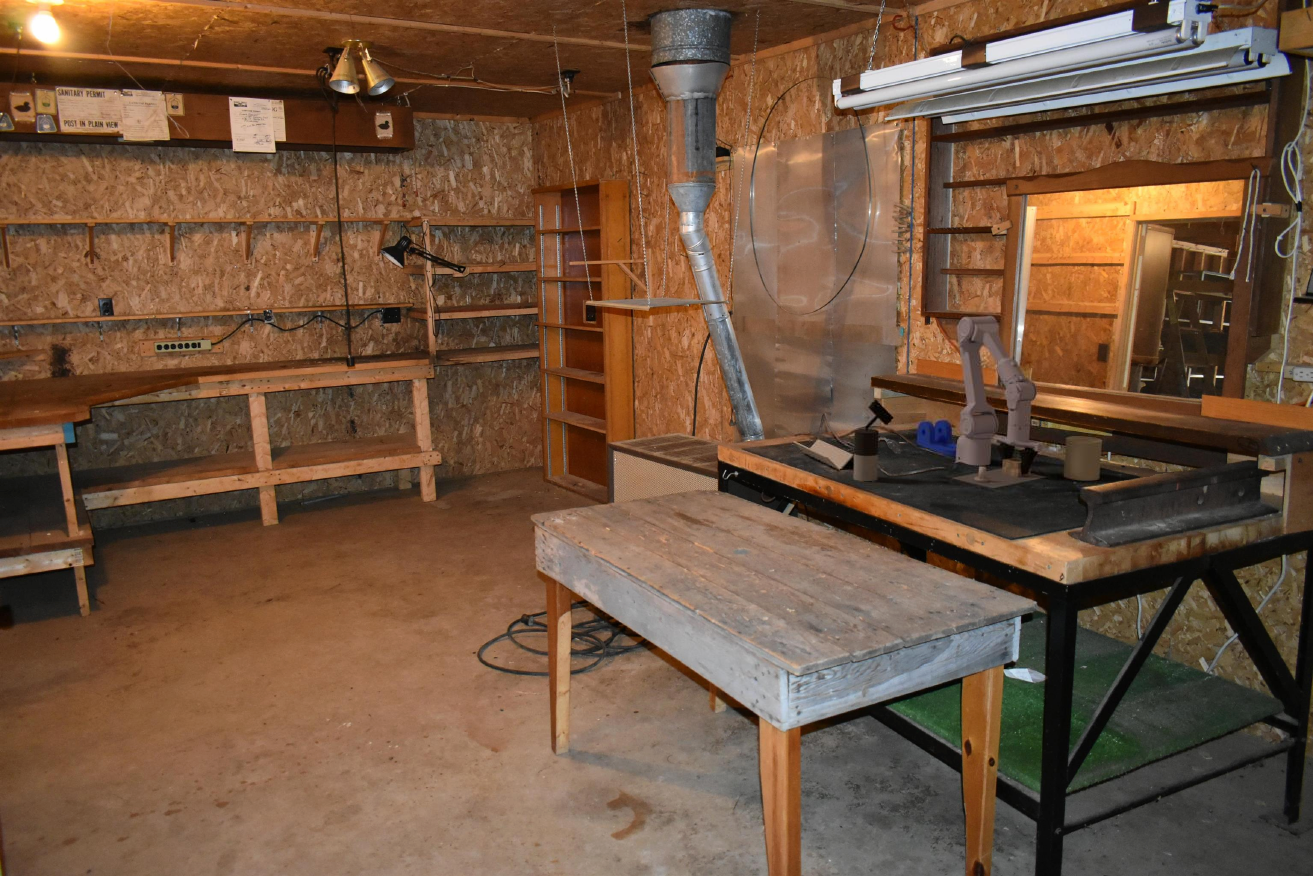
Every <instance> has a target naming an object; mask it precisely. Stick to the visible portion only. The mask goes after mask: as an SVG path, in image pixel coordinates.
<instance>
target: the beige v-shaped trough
mask: <svg viewBox="0 0 1313 876" xmlns="http://www.w3.org/2000/svg"><path fill="white" fill-rule="evenodd" d="M792 442H793V444H795V445H796V446H797V447H798V448H799V449H800V450H801V452H803V453H804V454H805V455H808V456H809V457H811V458H813V457H814V458H813V459H815V460H817V461H819V460H820V461H819V462H821V463H824V464H825V463H826V465H827V464H828V465H827V466H829V465H830V466H829V467H831V466H832V468H833V467H834V468H833V469H835V468H836V469H835V470H837V469H838V471H841V470H842V469H843V468H844V467H845V466H846V465H847V464H848V462H850V461H852V462H853V463H852V462H851V463H852V464H854V454H853V453H851V452H848V451H846V450H844V449H842V448H839V447H836V446H835V445H832V444H830V443H827V442H826V441H823V440H821V439H817V440H816V441H815V442H814V443H813V444H812V446H810V447H807V446H805V445H803V444H801V443H799V442H797V441H795V440H793V441H792ZM840 469H841V470H840Z"/></svg>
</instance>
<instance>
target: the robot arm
mask: <svg viewBox="0 0 1313 876" xmlns="http://www.w3.org/2000/svg"><path fill="white" fill-rule="evenodd" d="M999 331H1000V325H999V324H998V321H997V319H996V317H994V316H993V315H986V316H964V317H962V318H961V319H960V320H959V322H958V323H957V325H956V333H957V341H958V346H959V353H960V354H959V355H960V362H961V367H962V374H963V383H964V389H965V397H966V398H965V399H966V403H967V405H965V407H964V408H963V409H962V410H961V411H960V413H959V414H960V422H959V428H960V431H961V433H962V434H961V435H960V436H959V437H958V439H957V441H956V442H957V443H956V444H957V449H956V456H955V462H953V463H963V464H966V465H969V466H970V465H971V466H978V467H984V466H989V465H991V453H992V438H993V443H994V444H999V445H997V446H996V450H997V451H998V453H999V456H1000V458H1001V462H1002V463H1003V460H1004V459H1010V458H1014V452H1015V449H1016V447H1017V448H1022V449H1019V451H1018V452H1019V455H1020V459H1021V474H1023V475H1025V474H1028V472H1029V469H1030V470H1031V467H1032V464H1033V462H1034V460H1035V458H1036V456H1037V455H1038V454H1039V452H1040V451H1043V445H1044V443H1041V442H1037V441H1033V440H1030V431H1031V430H1030V429H1031V414H1032V413H1031V412H1032V411H1031V410H1032V401H1034V400H1036V397H1037V393H1038V389H1037V386H1036V383H1035V382H1034V381H1033V380H1030V379H1029V378H1028V377H1026V376H1025V374H1024V373H1023V370H1022V369H1021V368H1020V366H1019V362H1018V361H1016V359H1014V358H1011V357H1009V355H1008V352H1007V350H1006V348H1005V345H1004V343H1003V342H1002V339H1001V337H1000V335H999ZM983 346H985V347H986V349H987V350H988V352H989V353H990V355H991V356H992V358H993V360H994V361H995V362H996V364H997V365H996V367H995V371H996V372H997V374H998V376H999V378H1000V380H1001V381H1002V383H1003V385H1004V387H1005V388H1006V389H1005V390H1004V397H1005V399H1006V406H1007V408H1008V415H1007V435H1006V436H1003V435H995V434H996V432H998V429H999V426H1000V425H999V423H1000V422H999V419H998V417H997V415H996V411H995V408H994V407H993V406H992V405H990V403H988V402H987V395H986V390H985V388H986V387H985V382H984V381H985V380H984V375H983V367H982V361H981V354H980V353H981V352H980V350H981V348H982V347H983ZM994 435H995V436H994Z"/></svg>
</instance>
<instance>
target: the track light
mask: <svg viewBox="0 0 1313 876" xmlns="http://www.w3.org/2000/svg"><path fill="white" fill-rule="evenodd" d="M867 408H868V409H869V410H870V412H872V413H873V414H874V415H875V416H874V417H873V418H872V419H871V420H870V421H869V422H868V423H867V424H866V426H865V428H858V429H855V430H854V439H853V440H854V442H853V444H854V446H853V447H854V448H853V453H854V454H853V455H854V463H853V480H854V481H857V480H858V482H863V481H872V482H876V481H878V473H879V472H878V470H879V469H878V466H879V464H878V463H879V438H880V437H879V434H880V433H879V430H878V429H873V428H871V426H873V425H874V424H875V422H876V421H877V420H878V419H879V420H880V421H881V422H882V423H883V424H884V425H886V426H888V425H889V424H890V423H892V420H893V419H894V416H893V415H892V414H891V413H890V412H889V411H888V410H887V409H886V408H885V407H884V406H883V405H882V404H881V402H879V401H878V400H877V399H874V400H873V401H871V402H870V405H869V406H868V407H867ZM875 480H876V481H875Z"/></svg>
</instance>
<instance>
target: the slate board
mask: <svg viewBox="0 0 1313 876" xmlns="http://www.w3.org/2000/svg"><path fill="white" fill-rule="evenodd" d="M1016 462H1018V461H1016ZM1045 478H1046V476H1044V475H1039V474H1034V473H1031V472H1030V475H1026V476H1021V477H1015V476H1010V475H1006V474H1002V467H1001V468H996V469H992V470H987V467H986V466H978V472H977V473H972V474H966V475H960V476H956V477H952V480H951V483H956V484H959V485H960V484H961V485H964V486H967V487H968V486H969V487H971V488H972V487H973V488H976V489H980V490H984V491H988V492H991V493H994V492H995V490H992V489H996V488H1000V487H1006V486H1011V485H1015V484H1021V483H1025V482H1030V481H1035V480H1036V481H1037V480H1039V479H1045ZM953 479H954V480H953ZM955 480H958V481H955ZM960 481H961V482H960ZM964 482H966V483H964ZM967 483H970V484H967ZM971 484H972V485H971ZM973 484H974V485H973ZM975 485H978V486H975ZM980 486H981V487H980ZM983 487H986V488H983ZM988 488H989V489H988Z"/></svg>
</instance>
